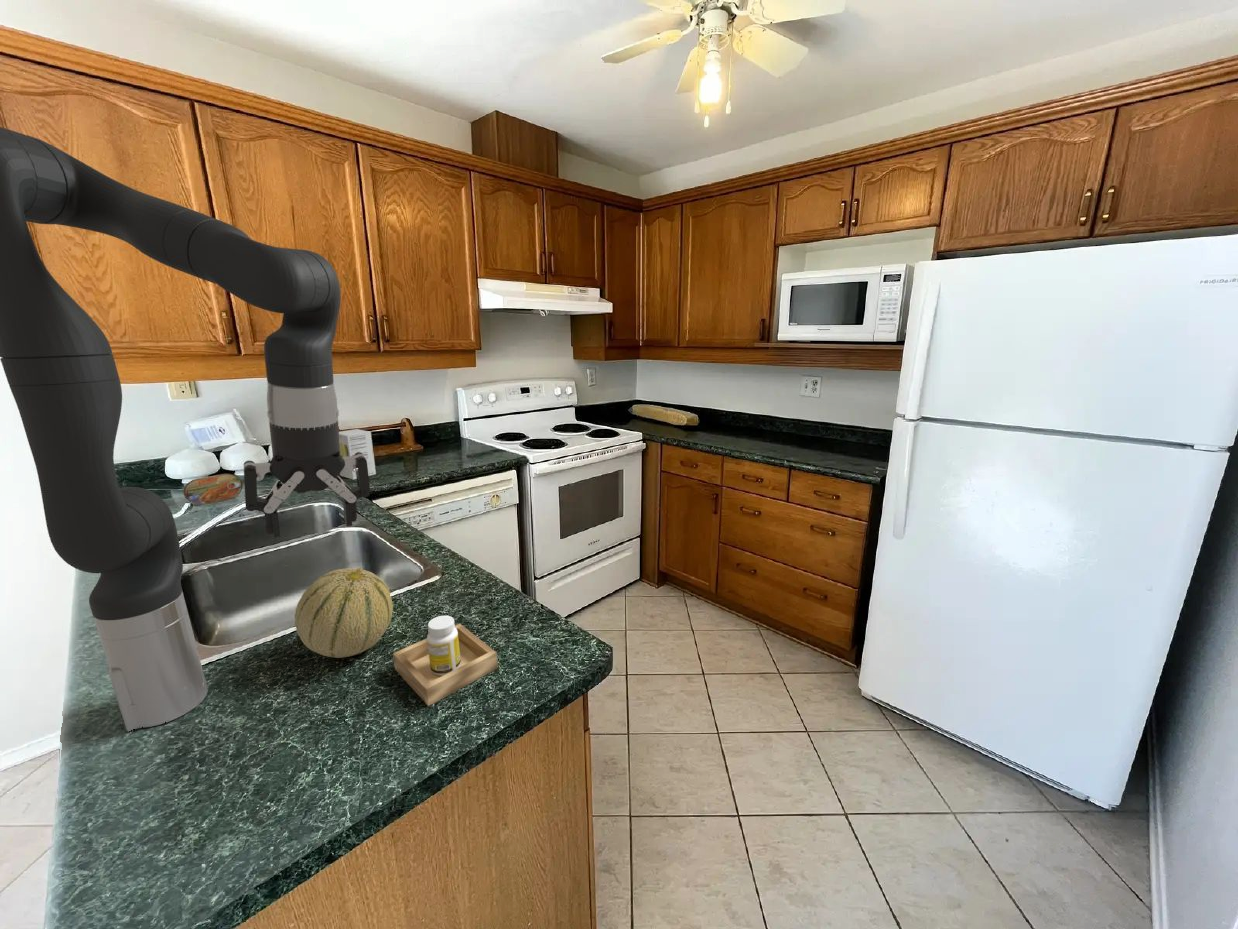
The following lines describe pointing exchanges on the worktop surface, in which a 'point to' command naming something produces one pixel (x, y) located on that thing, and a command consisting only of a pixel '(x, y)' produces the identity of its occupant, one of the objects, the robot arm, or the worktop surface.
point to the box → (435, 687)
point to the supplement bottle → (443, 645)
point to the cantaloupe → (344, 612)
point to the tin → (213, 489)
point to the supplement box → (356, 450)
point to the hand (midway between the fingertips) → (313, 529)
